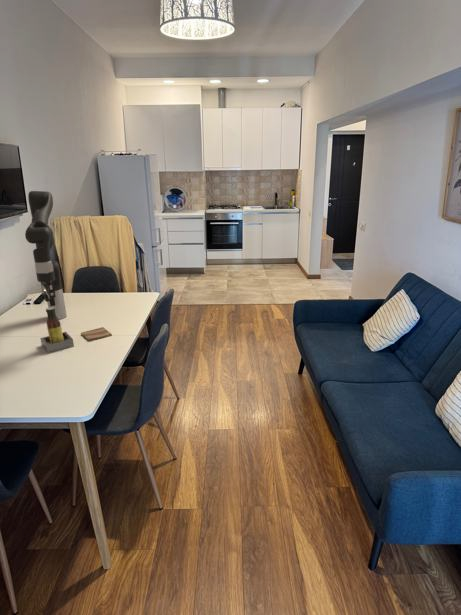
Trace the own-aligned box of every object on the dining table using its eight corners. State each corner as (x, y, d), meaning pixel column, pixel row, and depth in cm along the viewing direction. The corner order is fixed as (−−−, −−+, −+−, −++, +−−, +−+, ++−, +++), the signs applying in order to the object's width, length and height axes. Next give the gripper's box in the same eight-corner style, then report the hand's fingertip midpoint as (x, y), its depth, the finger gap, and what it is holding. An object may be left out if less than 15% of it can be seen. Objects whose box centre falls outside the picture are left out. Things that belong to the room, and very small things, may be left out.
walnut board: (81, 334, 218) (81, 332, 218) (103, 328, 225) (103, 327, 224) (89, 341, 209) (88, 339, 209) (111, 335, 216) (111, 333, 215)
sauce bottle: (67, 344, 207) (61, 306, 200) (58, 349, 201) (52, 311, 194) (56, 342, 209) (50, 305, 202) (47, 347, 203) (40, 309, 196)
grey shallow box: (41, 345, 206) (40, 338, 204) (67, 338, 213) (65, 331, 211) (47, 353, 197) (46, 345, 196) (73, 346, 204) (72, 338, 203)
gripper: (32, 269, 195) (38, 301, 201) (40, 274, 184) (46, 309, 190) (49, 266, 199) (54, 298, 205) (57, 272, 189) (62, 305, 194)
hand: (50, 303), depth 197 cm, fingers open, 8 cm apart
